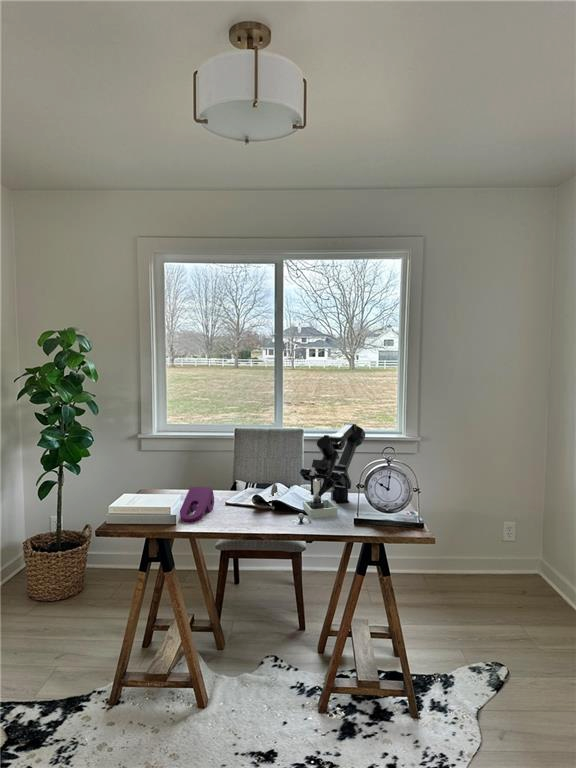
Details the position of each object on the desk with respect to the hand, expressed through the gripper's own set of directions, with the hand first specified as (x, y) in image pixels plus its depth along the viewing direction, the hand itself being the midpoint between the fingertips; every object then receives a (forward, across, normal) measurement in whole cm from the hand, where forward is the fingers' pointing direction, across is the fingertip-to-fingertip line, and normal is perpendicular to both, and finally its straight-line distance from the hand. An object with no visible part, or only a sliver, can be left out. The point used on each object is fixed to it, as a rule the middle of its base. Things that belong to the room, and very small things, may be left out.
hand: (315, 495), depth 194 cm
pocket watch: (+1, -27, +12) cm, 30 cm away
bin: (+4, 0, +8) cm, 9 cm away
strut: (+3, 0, +5) cm, 6 cm away
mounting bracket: (+22, -43, -9) cm, 49 cm away
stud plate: (+13, -1, 0) cm, 13 cm away
